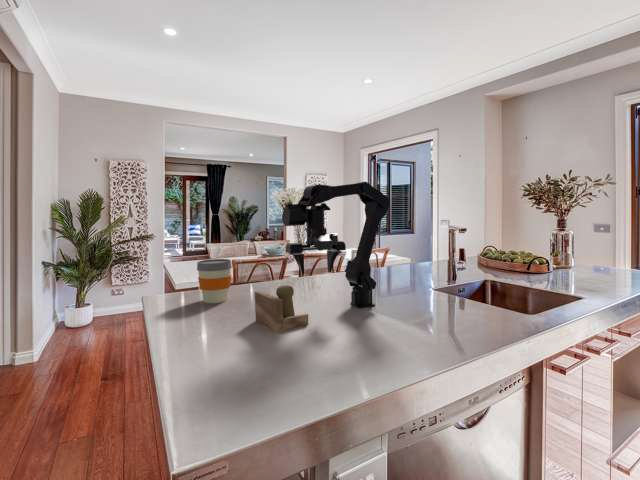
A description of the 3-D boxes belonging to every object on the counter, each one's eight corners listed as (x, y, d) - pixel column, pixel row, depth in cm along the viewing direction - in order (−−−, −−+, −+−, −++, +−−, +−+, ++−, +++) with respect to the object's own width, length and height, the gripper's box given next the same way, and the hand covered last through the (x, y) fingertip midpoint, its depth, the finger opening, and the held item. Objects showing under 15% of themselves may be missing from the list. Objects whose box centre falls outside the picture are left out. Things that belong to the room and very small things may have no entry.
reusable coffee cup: (237, 300, 128) (236, 261, 127) (203, 306, 121) (201, 264, 120) (226, 294, 139) (225, 257, 137) (194, 299, 132) (192, 261, 130)
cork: (286, 326, 98) (285, 289, 97) (271, 323, 102) (270, 286, 101) (300, 321, 103) (299, 285, 102) (285, 317, 107) (284, 283, 106)
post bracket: (287, 314, 111) (286, 286, 110) (310, 325, 99) (310, 294, 98) (255, 320, 104) (254, 291, 104) (276, 333, 93) (275, 301, 92)
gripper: (295, 226, 97) (297, 281, 98) (353, 224, 104) (354, 275, 106) (284, 225, 107) (285, 274, 109) (337, 223, 115) (338, 269, 116)
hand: (316, 273), depth 109 cm, fingers open, 9 cm apart
